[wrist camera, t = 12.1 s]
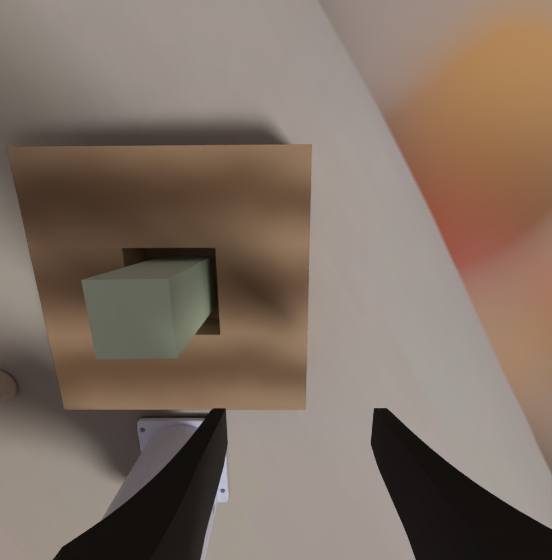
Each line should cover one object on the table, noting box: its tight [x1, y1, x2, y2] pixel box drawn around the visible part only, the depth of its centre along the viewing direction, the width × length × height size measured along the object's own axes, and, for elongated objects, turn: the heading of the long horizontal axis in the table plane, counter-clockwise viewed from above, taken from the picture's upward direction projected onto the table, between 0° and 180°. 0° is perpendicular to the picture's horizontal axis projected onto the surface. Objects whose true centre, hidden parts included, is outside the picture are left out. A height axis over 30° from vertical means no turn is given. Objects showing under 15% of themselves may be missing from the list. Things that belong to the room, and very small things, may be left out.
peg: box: [81, 256, 216, 359], centre depth 16 cm, size 4×4×8 cm
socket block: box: [7, 144, 312, 410], centre depth 19 cm, size 18×18×4 cm
